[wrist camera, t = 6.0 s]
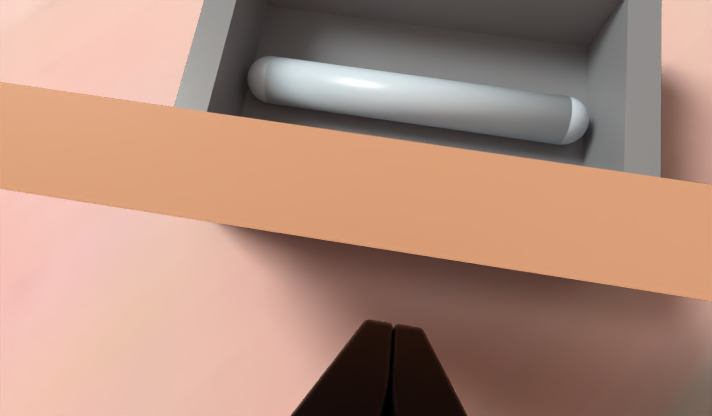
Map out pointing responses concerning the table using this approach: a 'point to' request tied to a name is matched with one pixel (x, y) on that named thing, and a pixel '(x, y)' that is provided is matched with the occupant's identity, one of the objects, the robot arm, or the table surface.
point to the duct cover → (361, 189)
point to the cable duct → (443, 73)
